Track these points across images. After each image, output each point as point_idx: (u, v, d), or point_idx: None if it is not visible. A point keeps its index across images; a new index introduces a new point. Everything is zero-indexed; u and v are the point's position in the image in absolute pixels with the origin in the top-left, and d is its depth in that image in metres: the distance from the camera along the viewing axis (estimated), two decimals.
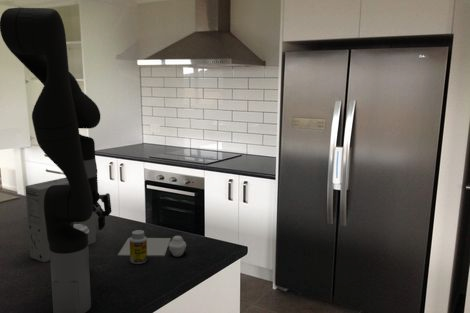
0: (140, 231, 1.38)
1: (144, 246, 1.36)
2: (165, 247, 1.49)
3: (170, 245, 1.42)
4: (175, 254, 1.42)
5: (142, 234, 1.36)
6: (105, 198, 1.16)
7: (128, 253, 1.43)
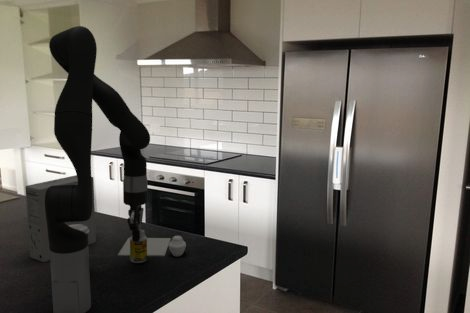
0: (141, 230, 1.38)
1: (144, 245, 1.36)
2: (165, 247, 1.49)
3: (170, 245, 1.42)
4: (175, 254, 1.42)
5: (142, 232, 1.36)
6: None
7: (128, 253, 1.43)
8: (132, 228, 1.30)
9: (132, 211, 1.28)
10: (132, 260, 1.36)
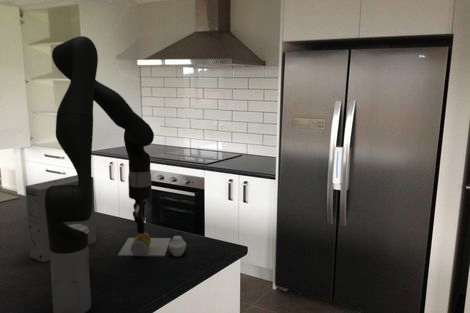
0: None
1: (147, 237, 1.46)
2: (165, 247, 1.49)
3: (170, 245, 1.42)
4: (175, 254, 1.42)
5: None
6: (147, 203, 1.46)
7: (128, 253, 1.43)
8: (137, 221, 1.38)
9: (137, 205, 1.36)
10: (133, 242, 1.41)
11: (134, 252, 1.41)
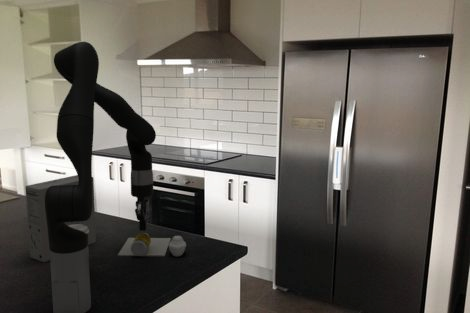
0: None
1: (147, 237, 1.46)
2: (165, 247, 1.49)
3: (170, 245, 1.42)
4: (175, 254, 1.42)
5: None
6: (149, 201, 1.49)
7: (128, 253, 1.43)
8: (139, 218, 1.41)
9: (139, 202, 1.39)
10: (133, 242, 1.41)
11: (134, 252, 1.41)
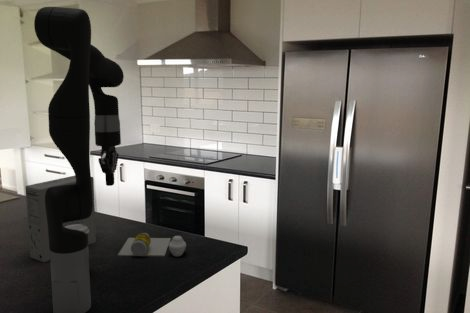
0: None
1: (147, 237, 1.46)
2: (165, 247, 1.49)
3: (170, 245, 1.42)
4: (175, 254, 1.42)
5: None
6: (118, 155, 1.34)
7: (128, 253, 1.43)
8: (104, 170, 1.26)
9: (104, 152, 1.24)
10: (133, 242, 1.41)
11: (134, 252, 1.41)
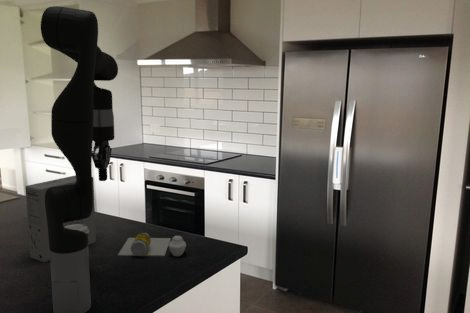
0: None
1: (147, 237, 1.46)
2: (165, 247, 1.49)
3: (170, 245, 1.42)
4: (175, 254, 1.42)
5: None
6: (111, 150, 1.31)
7: (128, 253, 1.43)
8: (97, 165, 1.23)
9: (97, 147, 1.22)
10: (133, 242, 1.41)
11: (134, 252, 1.41)
